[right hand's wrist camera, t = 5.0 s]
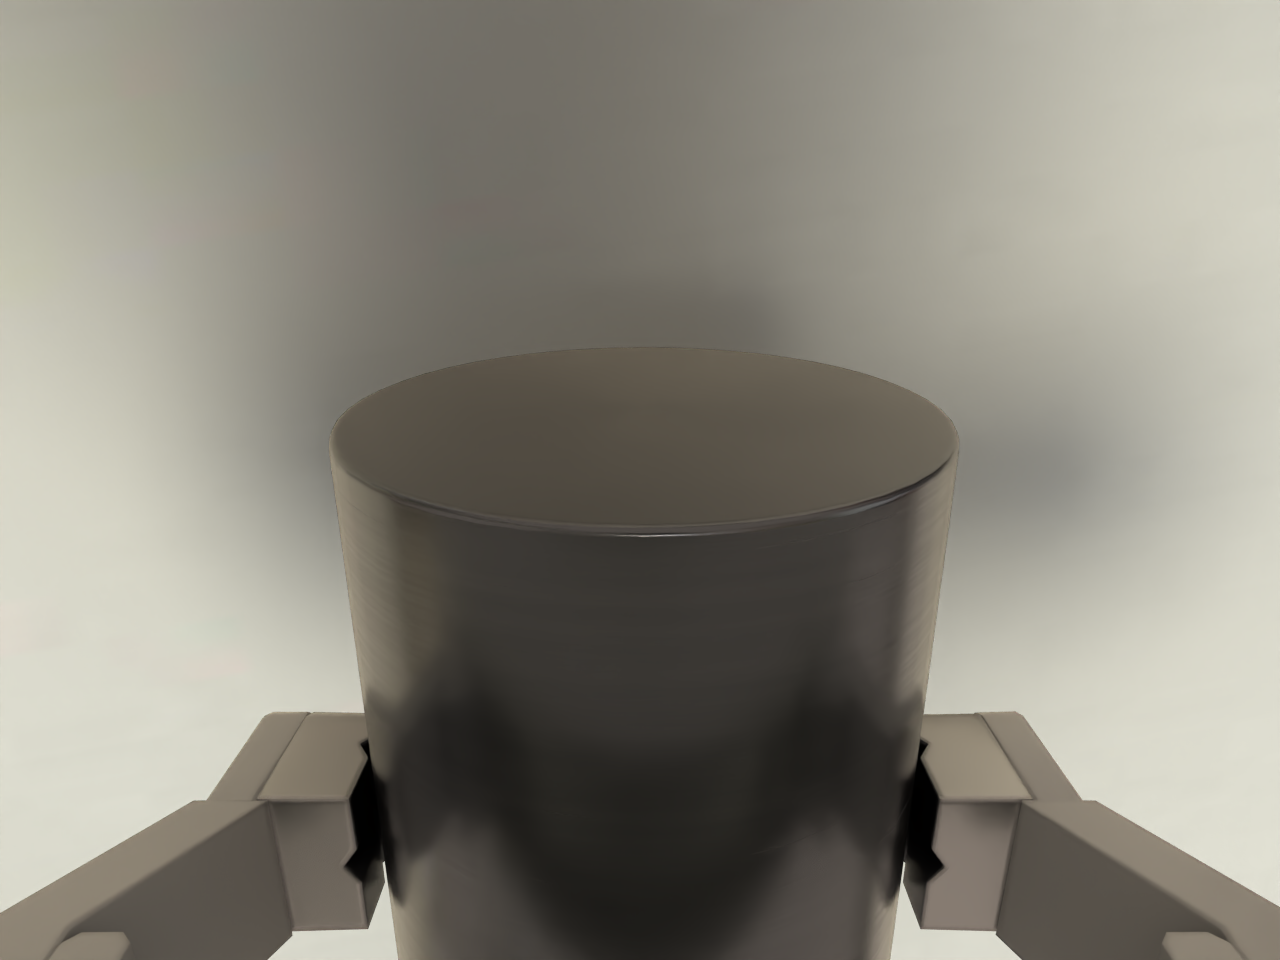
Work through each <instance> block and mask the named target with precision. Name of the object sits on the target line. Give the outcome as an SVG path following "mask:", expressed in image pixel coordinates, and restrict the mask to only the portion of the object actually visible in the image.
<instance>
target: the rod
mask: <svg viewBox="0 0 1280 960" xmlns="http://www.w3.org/2000/svg"><path fill="white" fill-rule="evenodd" d="M329 455H330V463H331V470H332V477H333V485H334V492H335V499H336V507H337V514H338V521H339V528H340V536H341V543H342V550H343V558H344V565H345V572H346V580H347V587H348V594H349V602H350V609H351V616H352V624H353V631H354V638H355V646H356V653H357V660H358V668H359V675H360V682H361V690H362V697H363V704H364V712H365V719H366V726H367V733H368V741H369V748H370V755H371V763H372V770H373V777H374V785H375V792H376V799H377V807H378V814H379V821H380V829H381V836H382V843H383V851H384V858H385V865H386V873H387V880H388V887H389V895H390V902H391V909H392V917H393V924H394V931H395V938H396V946H397V953H398V960H890V956H891V949H892V942H893V934H894V927H895V920H896V912H897V905H898V897H899V890H900V883H901V875H902V868H903V861H904V853H905V846H906V838H907V831H908V824H909V816H910V809H911V802H912V794H913V787H914V780H915V772H916V765H917V757H918V750H919V743H920V735H921V728H922V721H923V713H924V706H925V699H926V691H927V684H928V676H929V669H930V662H931V654H932V647H933V640H934V632H935V625H936V618H937V610H938V603H939V595H940V588H941V581H942V573H943V566H944V559H945V551H946V544H947V536H948V529H949V522H950V514H951V507H952V500H953V492H954V485H955V478H956V470H957V463H958V455H959V437H958V434H957V431H956V429H955V427H954V425H953V423H952V421H951V419H950V418H949V417H948V416H947V415H946V414H945V413H944V412H943V411H942V410H941V409H940V408H938V407H937V406H935V405H934V404H933V403H931V402H930V401H928V400H927V399H925V398H923V397H921V396H919V395H917V394H916V393H914V392H912V391H910V390H908V389H905V388H903V387H900V386H898V385H895V384H893V383H890V382H888V381H885V380H882V379H879V378H876V377H873V376H870V375H867V374H863V373H860V372H856V371H852V370H848V369H844V368H841V367H836V366H832V365H827V364H822V363H817V362H812V361H806V360H800V359H794V358H788V357H781V356H774V355H766V354H758V353H748V352H738V351H727V350H712V349H694V348H662V347H628V348H595V349H577V350H563V351H552V352H541V353H531V354H523V355H516V356H508V357H501V358H495V359H489V360H483V361H477V362H472V363H467V364H463V365H458V366H453V367H449V368H445V369H441V370H437V371H433V372H429V373H426V374H423V375H419V376H416V377H413V378H410V379H407V380H404V381H401V382H399V383H396V384H394V385H391V386H389V387H386V388H384V389H381V390H379V391H377V392H375V393H373V394H371V395H370V396H368V397H366V398H364V399H362V400H360V401H359V402H358V403H356V404H355V405H353V406H352V407H350V408H349V409H348V410H347V411H346V412H345V413H344V414H343V415H342V416H341V417H340V418H339V419H338V420H337V421H336V423H335V425H334V427H333V430H332V432H331V434H330V437H329Z"/></svg>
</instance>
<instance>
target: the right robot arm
mask: <svg viewBox="0 0 1280 960" xmlns="http://www.w3.org/2000/svg"><path fill="white" fill-rule="evenodd" d="M384 861H385V858H384V851H383V843H382V836H381V829H380V821H379V814H378V807H377V799H376V792H375V785H374V777H373V770H372V763H371V755H370V748H369V741H368V733H367V726H366V719H365V713H336V712H313V713H310V712H272V713H270V714H268V715H266V716H264V717H263V718H262V720H261V721H260V723H259V724H258V726H257V727H256V729H255V730H254V732H253V733H252V734H251V736H250V737H249V739H248V740H247V742H246V743H245V745H244V746H243V748H242V749H241V751H240V752H239V753H238V755H237V756H236V758H235V759H234V761H233V762H232V764H231V765H230V767H229V768H228V770H227V771H226V773H225V774H224V775H223V777H222V778H221V780H220V781H219V783H218V784H217V786H216V787H215V789H214V790H213V792H212V793H211V794H210V796H209V797H208V799H207V800H206V801H192V802H190V803H189V804H187V805H185V806H184V807H182V808H180V809H178V810H177V811H175V812H173V813H172V814H170V815H168V816H166V817H165V818H163V819H161V820H160V821H158V822H156V823H154V824H153V825H151V826H149V827H147V828H146V829H144V830H142V831H141V832H139V833H137V834H135V835H134V836H132V837H130V838H129V839H127V840H125V841H123V842H122V843H120V844H118V845H117V846H115V847H113V848H111V849H110V850H108V851H106V852H105V853H103V854H101V855H99V856H98V857H96V858H94V859H92V860H91V861H89V862H87V863H86V864H84V865H82V866H80V867H79V868H77V869H75V870H74V871H72V872H70V873H68V874H67V875H65V876H63V877H62V878H60V879H58V880H56V881H55V882H53V883H51V884H50V885H48V886H46V887H44V888H43V889H41V890H39V891H37V892H36V893H34V894H32V895H31V896H29V897H27V898H25V899H24V900H22V901H20V902H19V903H17V904H15V905H13V906H12V907H10V908H8V909H7V910H5V911H3V912H1V913H0V960H267V959H268V958H270V957H271V956H272V955H273V954H274V953H275V952H276V951H277V950H278V949H279V948H280V947H281V946H282V945H283V944H284V943H285V942H286V941H287V940H288V939H289V938H290V937H291V936H292V931H315V930H349V929H368V928H369V925H370V922H371V919H372V916H373V914H374V911H375V908H376V905H377V903H378V900H379V897H380V894H381V891H382V889H383V886H384V883H385V879H384V871H383V862H384ZM904 862H905V871H904V879H903V883H904V886H905V889H906V891H907V894H908V897H909V899H910V902H911V905H912V907H913V910H914V913H915V915H916V918H917V921H918V923H919V926H920V929H937V930H972V931H996V935H997V936H998V937H999V938H1000V939H1001V940H1002V941H1003V942H1004V943H1005V944H1006V945H1007V946H1008V947H1009V948H1010V949H1011V950H1012V951H1013V952H1014V953H1016V954H1017V955H1018V956H1019V957H1020V958H1021V959H1022V960H1280V907H1279V906H1277V905H1275V904H1273V903H1272V902H1270V901H1268V900H1266V899H1265V898H1263V897H1261V896H1260V895H1258V894H1256V893H1254V892H1253V891H1251V890H1249V889H1247V888H1246V887H1244V886H1242V885H1241V884H1239V883H1237V882H1235V881H1234V880H1232V879H1230V878H1228V877H1227V876H1225V875H1223V874H1222V873H1220V872H1218V871H1216V870H1215V869H1213V868H1211V867H1209V866H1208V865H1206V864H1204V863H1202V862H1201V861H1199V860H1197V859H1196V858H1194V857H1192V856H1190V855H1189V854H1187V853H1185V852H1183V851H1182V850H1180V849H1178V848H1177V847H1175V846H1173V845H1171V844H1170V843H1168V842H1166V841H1164V840H1163V839H1161V838H1159V837H1158V836H1156V835H1154V834H1152V833H1151V832H1149V831H1147V830H1145V829H1144V828H1142V827H1140V826H1139V825H1137V824H1135V823H1133V822H1132V821H1130V820H1128V819H1126V818H1125V817H1123V816H1121V815H1119V814H1118V813H1116V812H1114V811H1113V810H1111V809H1109V808H1107V807H1106V806H1104V805H1102V804H1100V803H1099V802H1097V801H1083V800H1082V799H1081V797H1080V796H1079V795H1078V793H1077V792H1076V790H1075V789H1074V787H1073V786H1072V785H1071V783H1070V782H1069V780H1068V779H1067V777H1066V776H1065V775H1064V773H1063V772H1062V770H1061V769H1060V768H1059V766H1058V765H1057V763H1056V762H1055V760H1054V759H1053V758H1052V756H1051V755H1050V753H1049V752H1048V750H1047V749H1046V748H1045V746H1044V745H1043V743H1042V742H1041V741H1040V739H1039V738H1038V736H1037V735H1036V733H1035V732H1034V731H1033V729H1032V728H1031V726H1030V725H1029V723H1028V722H1027V721H1026V719H1025V718H1024V716H1023V715H1021V714H1019V713H1017V712H1016V711H1011V712H979V713H974V714H923V721H922V728H921V735H920V743H919V750H918V757H917V765H916V772H915V780H914V787H913V794H912V802H911V809H910V816H909V824H908V831H907V838H906V846H905V853H904Z"/></svg>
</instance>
